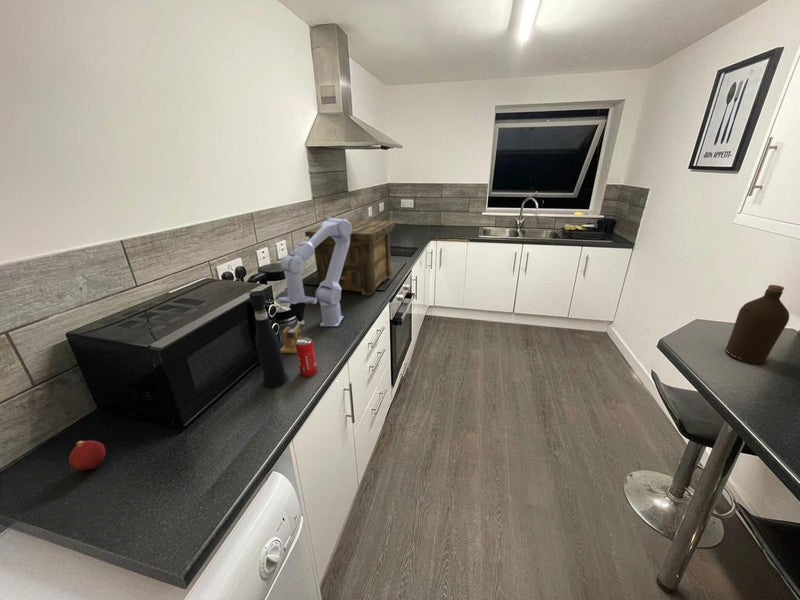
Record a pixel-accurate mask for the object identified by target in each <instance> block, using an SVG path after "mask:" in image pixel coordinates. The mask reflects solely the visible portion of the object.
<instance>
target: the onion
mask: <svg viewBox="0 0 800 600" xmlns="http://www.w3.org/2000/svg"><path fill="white" fill-rule="evenodd" d="M106 451H107V450H106V447H105V445H104V444H103V443H102V442H100V441H97V440H93V439H91V440H79V441H77V442H76V443H75V447H74V448H73V449H72V450H71V452H70V454H69V456H68V462H69V466H70V467H71V468H72V469H74V470H77V471H88V470H94V469H96V468H97V467H98V466H99V465H100V464H101V463H102V462H103V460H104V459H105V457H106V453H107V452H106Z"/></svg>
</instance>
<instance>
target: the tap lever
mask: <svg viewBox="0 0 800 600" xmlns="http://www.w3.org/2000/svg"><path fill="white" fill-rule="evenodd" d="M305 326H306V321H305V320H304V319H303V320H302V321H298V320H297V324H296V326H295V327H294V328H290V330H289V331H288V332H287V335H288V338H292V339H294V336H293V332H294V330H295V329H296V328H297V327H300V328H303V327H305Z"/></svg>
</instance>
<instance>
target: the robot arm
mask: <svg viewBox="0 0 800 600" xmlns="http://www.w3.org/2000/svg"><path fill="white" fill-rule="evenodd" d="M348 220H349V219H347V218H343V219H342V218H334V217H328V218H326V219H325V221H323V222H322V224H321V226H322V227H321V228H320V229H319V230H318V231H317V232H316V233H315V234H314V235H313V237H312V238H311V239H309V240H308V241H302V242H301V241H300V242H299V243H298V246H297V247H296V248H295V249H293V250H292V251H290V252H289V254H286V255H284V256H283V257H282V258H281V260H280V264H279V267H280V269H281V270H282V271H283V274H284V277H285V283H286V288H287V294H288V296H280V297H278V298H277V302H278V304H280V305H282V304H289V306H288V308H289V309H290V310H291V312H292V313H293V314H294V316H295V317H296V320H297V322H298V321H302V320H304V313H305V309H306V306H307V304H312V305H316V304H317V303H319V305H320V311H321V312H320V313H321V320H322V321H321V322H320V323H319V326H320V327H339V326H340V324H341V322H342V320H343V318H344V315H342V310H341V303H340V301H341V300H342V291H343V290H342V289H341V287H340V285H339V284H338V283H339V279H340V276H341V272H342V269H343V265H344V262H345V258H346V255H347V251H348V248H349V244H350V235H351V231H352V227H351V224H350V222H349V221H348ZM328 236H331V237H332V238H333V239H334V241H335V243H336V244H335V248H334V251H333V255H332V258H331V262H330V265H329V269H328V272H327V275H326V279H325V280H324V281H322V282H321V283H320V286H319V285H318V288H316V290H315V294H314V295H315V297H314V296H308V295H305V289H304V284H303V283H304V281H303V276H302V271H303V268H304V265H305V264H306V262H307V261H308V260H309V259H310V258H311V257H312V256H313V255H315V247H317V246H318V245H319V244H320V243H321V242H323V241H324V240H325V239H326V238H327V237H328ZM330 288H331V289H330Z"/></svg>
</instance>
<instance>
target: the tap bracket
mask: <svg viewBox="0 0 800 600" xmlns="http://www.w3.org/2000/svg"><path fill="white" fill-rule="evenodd" d="M290 329H291V327H290V326H286V327H285V328H284V329H283V330H282V332H281V334H282V340H283V345H282V347H280V350H281V354H297V350H296V341H297V340H298V339H300V338H303V336H302V329H301V327H297V328H296V329H295V330H294V332H293V336H294V338H288V335H287V332H288V331H289V330H290Z"/></svg>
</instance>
